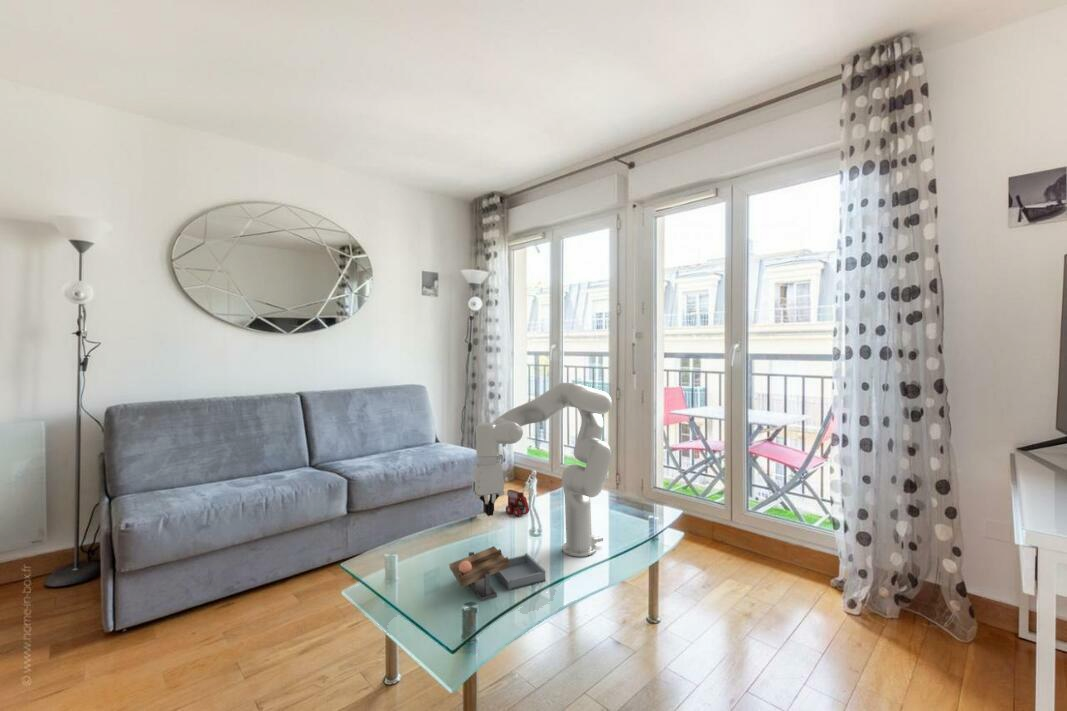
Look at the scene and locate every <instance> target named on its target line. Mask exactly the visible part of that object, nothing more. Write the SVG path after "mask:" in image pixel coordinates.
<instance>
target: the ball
mask: <svg viewBox="0 0 1067 711" xmlns="http://www.w3.org/2000/svg"><path fill="white" fill-rule="evenodd" d="M471 569H472V565H471V563H470V562H469V561H463V562H461V563H460V565H459V571H460V572H461V574H463V575H465V574H467V573H470V572H471Z"/></svg>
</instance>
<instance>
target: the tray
mask: <svg viewBox="0 0 1067 711" xmlns="http://www.w3.org/2000/svg"><path fill="white" fill-rule="evenodd" d="M508 560H509V564H510V567H508V568H506V569H504V570H501V571H499V572H497V573H494V574H495V575H496V577H497V578H498V579H499V580H500V582H501V583H502V584H503V585H504V587H506V589H507V590H508V591H513V590H517V589H521V588H524V587H529V586H532V585H537V584H540V583H539V582H541V583H543V581H544V582H546V580H547V579H546V578H547V577H546V570H545V568H544V567H543V566H542V565H540V564H539V563H538V562H537V561H536V560H535V559H534V558H533V557H532V556H530V555H529V553H528V552H526V553H524V554H523V555H519V556H515V557H511V558H509V557H508ZM536 583H537V584H536Z"/></svg>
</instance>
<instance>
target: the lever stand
mask: <svg viewBox="0 0 1067 711" xmlns="http://www.w3.org/2000/svg"><path fill="white" fill-rule="evenodd" d="M473 554H475V552H474V551H469V552H468V556H471V555H473ZM469 586H470V587H471V588H472V589H473V591H474V593H475V595H477V597H478V599H479V600H480V601H481V602H483V601H488V600H490V599H495V598H497V597H498V596H497V592H496V591H495V590H494V588H493V587H492V583H491V575H490V572H486V573H484V578H483V579H480V580H478V581H476V582H473V583H471V584H469Z"/></svg>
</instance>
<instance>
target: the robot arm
mask: <svg viewBox="0 0 1067 711" xmlns="http://www.w3.org/2000/svg"><path fill="white" fill-rule="evenodd" d="M612 405H613V402H612V398H611V396H610V395H609V394H608V393H607V392H605V391H604V390H601V389H600V390H599V389H597V388H593V387H590V386H586V385H583V384H579V383H575V382H574V383H573V382H560V383H559V384H556V385H555V386H553V387H551V388H550V389H549V390H547V391H545V392H544V393H542V394H541V395H539V396H538V397H536V398H534V399H532V400H531V401H528V402H526V403H523V404H521V405H519V406H516V407H514V408H512V409H509V410H508V411H506V412H504V413H502V414H501V415H499V416H498V417H497V418H495V420H493V422H482V423H478V424H477V425H476V426H475V443H476V444H475V446H476V448H475V450H476V451H475V452H476V463H475V464H474V465H473V470H472V471H473V472H472V482H471V486H472V488H471V489H472V493H473V496H472V498H473V500H477V501H478V500H479V501H481V502H483V504H484V506H483V508H484V509H483V511H484V513H485V515H486V516H488V517H491V516H492V517H493V516H494V512H495V503H496V501H497V500H498V498H499V497H502V496H504V495H505V481H504V480H505V478H504V473H503V472H504V471H503V467H502V463H501V462H500V461H501V460H503V459H504V455H503V454H500V446H499V445H500V444H502V445H504V444H505V445H512V444H517V443H518V442H519V441H520V440H521V439H522V438H523V435H524V432H523V431H524V430H523V428H522V427H523V426H526V425H530V424H537V423H538V424H539V423H542V422H545V421H547V420H549V419H550V418H552V417H553V416H555V415H556V414H558V413H559V412H560V411H562V410H563V409H565V408H567V407H570V408H571V407H572V408H576V409H577V410H578V413H579V414H580V419H581V420H580V422H581V423H580V428H579V431H578V435H577V438H576V441H575V444H574V447H573V456H574V458H575V459H576V460H577V461H579V462H581V463H583V464H586V465H585V466H583V465H579V464H570V465H567V466H566V467H565V468H564V470H563V471H562V475H561V483H562V490H563V493H564V506H565V508H564V509H565V510H564V511H565V512H564V513H565V538H566V540H565V541H566V542H565V543H563V544H562V552H563V553H564V554H566V555H568V556H571V557H578V558H579V557H581V558H583V557H588V555H589V556H592V555H593V554H595V553H596V551H597V546H596V544H597V543H600V542H603V541H604V537H603V536H602V535H599V536H597V535H596V534H594V535H592V507H591V506H592V505H591V502H592V501H591V498H595V497H597V496H599V495H600V494H601V492H602V490H603V488H604V486H605V482H606V479H607V476H608V472H609V469H610V467H611V466H610V465H611V461H612V449H611V447H610V445H609V444H608V443H607V442H605V441H603V440H601V439H602V435H603V431H604V419H603V416H602V415H605V414H607V413H608V412H609V411H610V410H611V407H612ZM591 554H592V555H591Z"/></svg>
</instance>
